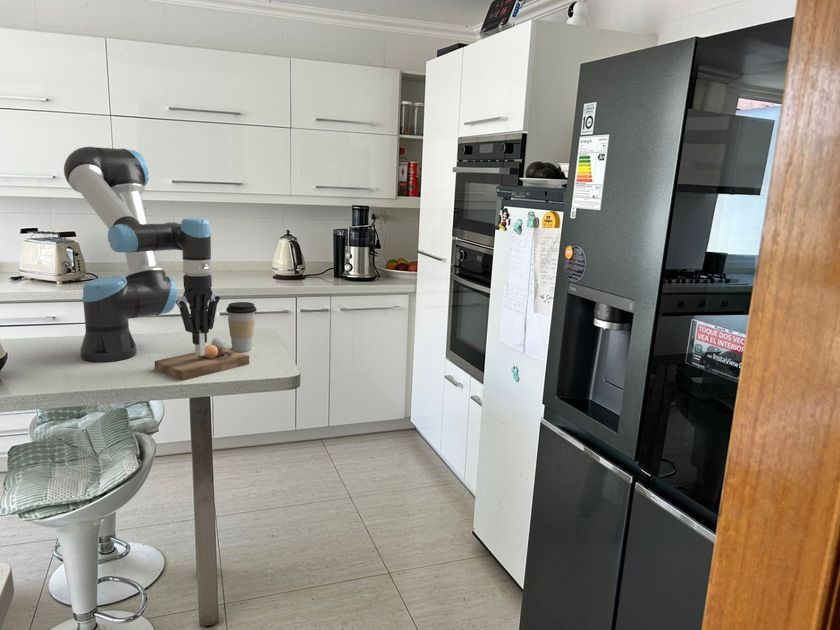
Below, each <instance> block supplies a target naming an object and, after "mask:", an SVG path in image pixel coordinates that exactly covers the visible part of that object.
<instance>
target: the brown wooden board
mask: <svg viewBox="0 0 840 630" xmlns="http://www.w3.org/2000/svg"><path fill="white" fill-rule="evenodd" d="M245 365H250V355H248V354H245V353H243V352H236V351H233V350H232V349H229V348H226V347H224V348H223V349H222V350H220V351H218V354H217V356H216V357H215V358H207V357H206V356H205V355H203V356H199V355H197V354H195V352H190V353H186V354H180V355H177V356H176V355H175V356H171V357H166V358H163V359H157V360H154V370H155V371H158V372H161V373H164V374H166V375H168V376H170V377H173V378H176V379H179V380H181V381H185V380H189V379H194V378H198V377H202V376H206V375H210V374H214V373H217V372H221V371H226V370H230V369H233V368H238V367H242V366H245Z"/></svg>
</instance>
